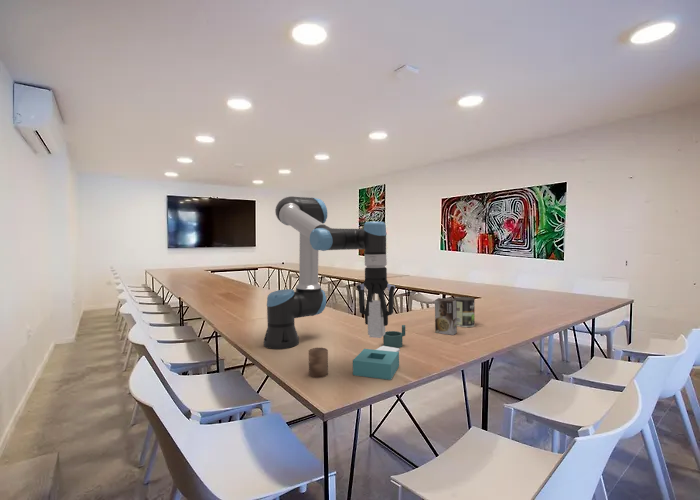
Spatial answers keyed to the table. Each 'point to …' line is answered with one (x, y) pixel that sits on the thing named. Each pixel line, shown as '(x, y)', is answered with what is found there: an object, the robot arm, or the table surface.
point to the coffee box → (445, 316)
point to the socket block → (376, 364)
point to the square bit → (375, 319)
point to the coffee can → (465, 311)
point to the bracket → (394, 338)
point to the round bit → (318, 362)
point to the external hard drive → (388, 349)
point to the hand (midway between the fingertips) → (376, 334)
